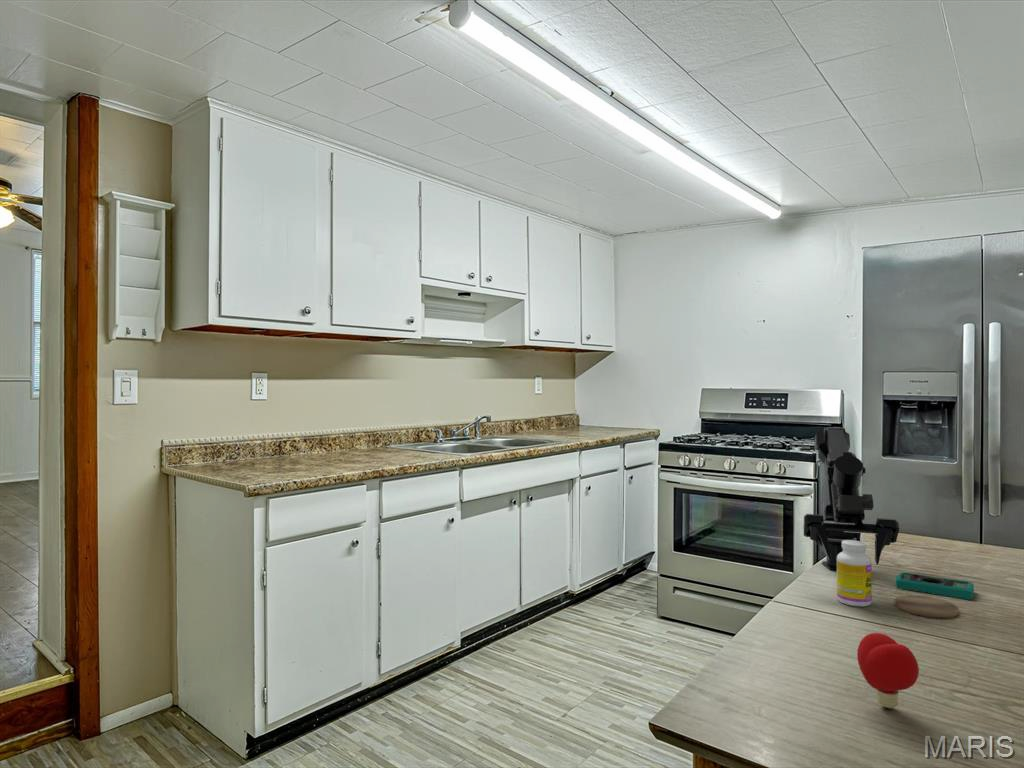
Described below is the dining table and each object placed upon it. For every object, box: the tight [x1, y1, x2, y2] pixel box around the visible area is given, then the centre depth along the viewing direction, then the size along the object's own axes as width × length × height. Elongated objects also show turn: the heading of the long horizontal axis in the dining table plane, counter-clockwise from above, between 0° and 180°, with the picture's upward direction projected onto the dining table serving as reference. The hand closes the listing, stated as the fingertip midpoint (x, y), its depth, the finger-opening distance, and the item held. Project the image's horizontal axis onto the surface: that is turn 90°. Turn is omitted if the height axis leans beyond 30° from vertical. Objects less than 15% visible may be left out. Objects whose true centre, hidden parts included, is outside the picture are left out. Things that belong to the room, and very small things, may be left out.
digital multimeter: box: [894, 571, 975, 601], centre depth 147 cm, size 7×15×3 cm, turn 52°
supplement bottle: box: [836, 540, 873, 608], centre depth 139 cm, size 7×7×13 cm
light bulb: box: [856, 632, 920, 711], centre depth 94 cm, size 9×7×10 cm
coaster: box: [894, 594, 959, 619], centre depth 135 cm, size 11×11×1 cm
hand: (853, 561), depth 140 cm, fingers open, 9 cm apart
